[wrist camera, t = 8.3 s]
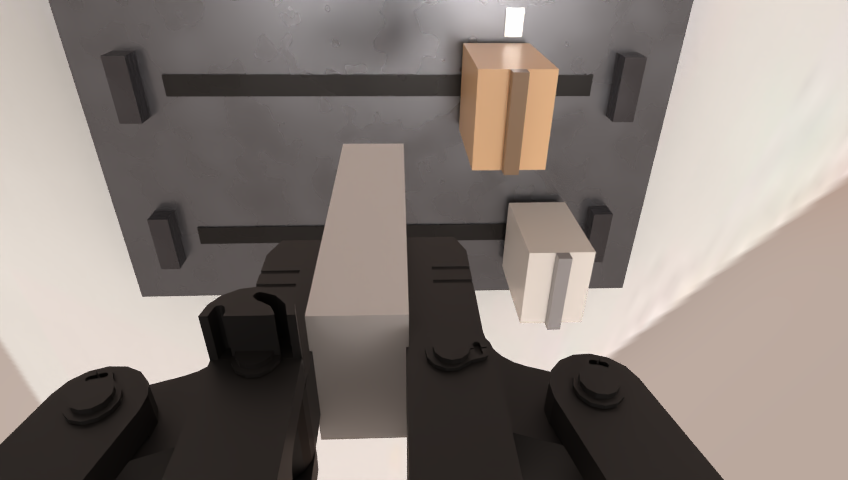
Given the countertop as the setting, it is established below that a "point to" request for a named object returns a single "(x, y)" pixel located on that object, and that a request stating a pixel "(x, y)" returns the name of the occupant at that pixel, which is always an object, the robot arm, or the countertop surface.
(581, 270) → the fader
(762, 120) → the countertop surface
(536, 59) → the block
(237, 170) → the console
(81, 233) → the countertop surface
